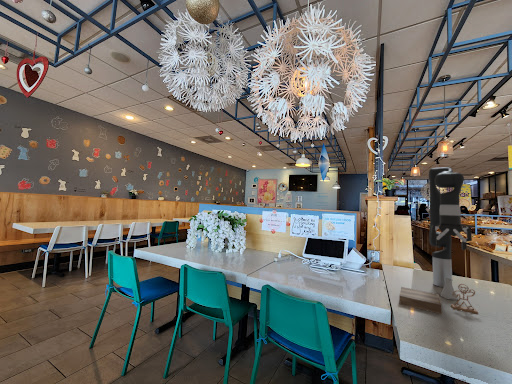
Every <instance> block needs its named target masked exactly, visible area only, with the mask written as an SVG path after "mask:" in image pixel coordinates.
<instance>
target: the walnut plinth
mask: <svg viewBox="0 0 512 384" xmlns="http://www.w3.org/2000/svg"><path fill="white" fill-rule="evenodd" d="M399 292H400V293H399V305H403V306H407V307H412V308H415V309H420V310H423V311H427V310H428V311H427V312H431V311H432V313H435V312H436V314H439V313H440V314H439V315H443V308H442V302H441V298H440V297H441V296H440V295H439V294H438V293H433V292H428V291H424V290H419V289H414V288H409V287H405V286H404V287H403V286H401V287H400V290H399Z"/></svg>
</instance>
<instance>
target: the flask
mask: <svg viewBox="0 0 512 384" xmlns="http://www.w3.org/2000/svg"><path fill="white" fill-rule="evenodd" d="M454 291H455V289H454V286H453V278H452V279H450V278H445V285H444V287H442V290H441V292H440V295H439V296H440V297H442V298H444V299H446V300H450V301H451V300H452V301H458V300H459V297H457V298H455V297H456V295H457V294H456V293H457V292H455V293H454V294H456V295H452V294H453V292H454ZM453 296H455V297H453Z"/></svg>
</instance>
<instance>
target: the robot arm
mask: <svg viewBox="0 0 512 384" xmlns="http://www.w3.org/2000/svg"><path fill="white" fill-rule="evenodd" d="M464 181H465V177H464V175H463V174H462V173H461V172H454V170H453V169H452V168H451V167H448V166H447V167H432V168H430V169H429V171H428V184H429V235H428V238H429V239H428V242H429V244H430V246H432V247H437V248H439V249H440V248H443V249H442V250H438V251H434V252H433V251H432V255H431V256H432V258H431V259H432V284H433V285H434V286H437V287H441V288H444V285H445V278H450V279H452V280H453V269H452V268H453V267H452V264H453V263H452V241H453V240H452V237H458V239H460V241H461V243H460V244H461V250H462V251H465V250H467V247H468V246H467V243H468V242H472V241H473V238H472V237H473V236H472V231H471V230H472V229H471V228H470V227H462V220H461V219H462V218H461V216H462V215H461V214H462V212H461V205H460V193H461V191H462V187H463V185H464ZM438 188H442V189H443V188H447V189H448V188H450V189H451V188H453V189H452V190H451V191H448V192H440V190H439V189H438ZM438 229H439V231H438ZM462 231H463V232H464V233H465V234H466V238H465V237H464V236H463V235H462V234H461V232H462Z"/></svg>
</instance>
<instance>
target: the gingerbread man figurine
mask: <svg viewBox="0 0 512 384" xmlns="http://www.w3.org/2000/svg"><path fill="white" fill-rule="evenodd" d="M457 288H458V290H454V292H453V294H452V295H456V297H455V296H453V297H455V298H458V300H456V302H455V303H454V304H452V303H451V304H450V307H451V309H452V308H453V309H452V310H455V309H457V310H456V311H460V310H462V311H461V312H465V313H470V314H474V315H479V312H478V310H477V309H476V308H474V307H473V305H472V304H471V303H470V301H469V298H470V297H471V298H472V297H474V296H475V295H476V291H475V290H474V289H471V288H470V289H469V287H468V286H467V285H466V284H465V283H460V284H458V286H457ZM457 292H460V293H459V294H458V293H457ZM454 293H457V294H454ZM471 293H472V294H471ZM461 294H462V297H461ZM466 294H471V295H466ZM465 295H466V298H465ZM460 300H462V302H461V304H460V303H459V302H460ZM465 301H467V302H468V304H469V305H467V304H466V303H465ZM463 304H464V305H465V306H462V305H463Z"/></svg>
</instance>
